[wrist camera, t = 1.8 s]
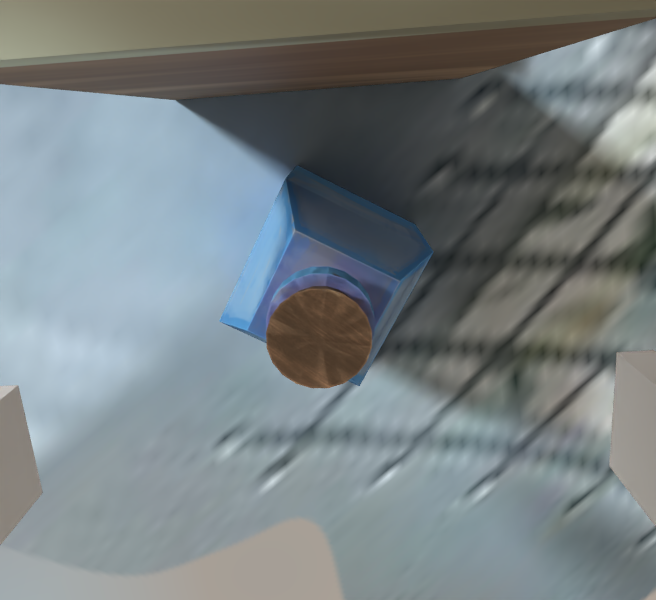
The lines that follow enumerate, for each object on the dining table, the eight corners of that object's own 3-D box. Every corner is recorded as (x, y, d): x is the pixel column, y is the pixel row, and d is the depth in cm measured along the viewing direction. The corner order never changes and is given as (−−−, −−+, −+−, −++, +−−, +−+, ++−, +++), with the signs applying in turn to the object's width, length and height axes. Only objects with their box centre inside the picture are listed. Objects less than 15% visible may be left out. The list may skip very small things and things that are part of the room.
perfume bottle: (243, 281, 30) (182, 382, 19) (297, 165, 29) (267, 198, 17) (355, 334, 31) (364, 463, 19) (415, 224, 29) (462, 294, 18)
